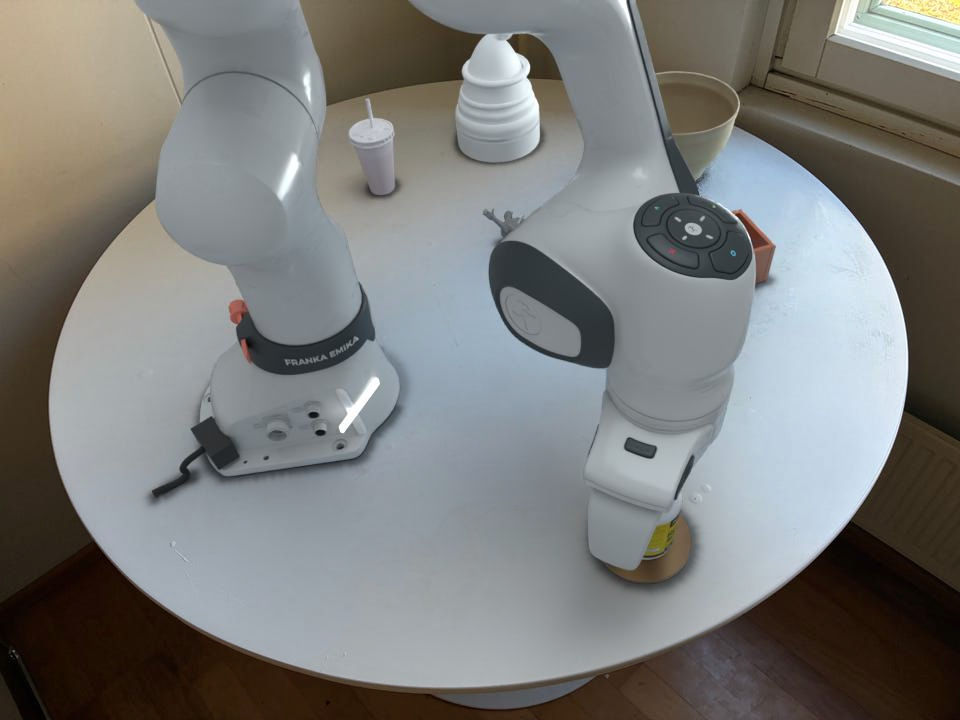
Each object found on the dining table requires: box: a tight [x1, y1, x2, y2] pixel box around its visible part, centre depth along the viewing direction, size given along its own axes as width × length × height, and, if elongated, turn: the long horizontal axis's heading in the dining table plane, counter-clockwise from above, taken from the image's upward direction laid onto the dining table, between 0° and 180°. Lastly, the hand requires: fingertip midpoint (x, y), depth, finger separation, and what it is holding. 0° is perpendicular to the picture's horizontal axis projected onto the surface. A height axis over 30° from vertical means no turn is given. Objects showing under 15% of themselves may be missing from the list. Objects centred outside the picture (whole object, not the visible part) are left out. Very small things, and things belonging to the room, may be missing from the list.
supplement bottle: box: [642, 490, 683, 560], centre depth 68 cm, size 5×5×10 cm
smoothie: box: [348, 97, 396, 196], centre depth 108 cm, size 6×6×14 cm
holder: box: [731, 208, 777, 285], centre depth 94 cm, size 8×8×6 cm
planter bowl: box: [655, 70, 741, 182], centre depth 107 cm, size 16×16×11 cm
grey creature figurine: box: [482, 207, 526, 244], centre depth 101 cm, size 10×6×9 cm
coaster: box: [602, 513, 692, 584], centre depth 72 cm, size 9×9×1 cm
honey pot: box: [454, 34, 541, 163], centre depth 113 cm, size 13×13×18 cm
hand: (648, 497), depth 67 cm, fingers open, 8 cm apart
